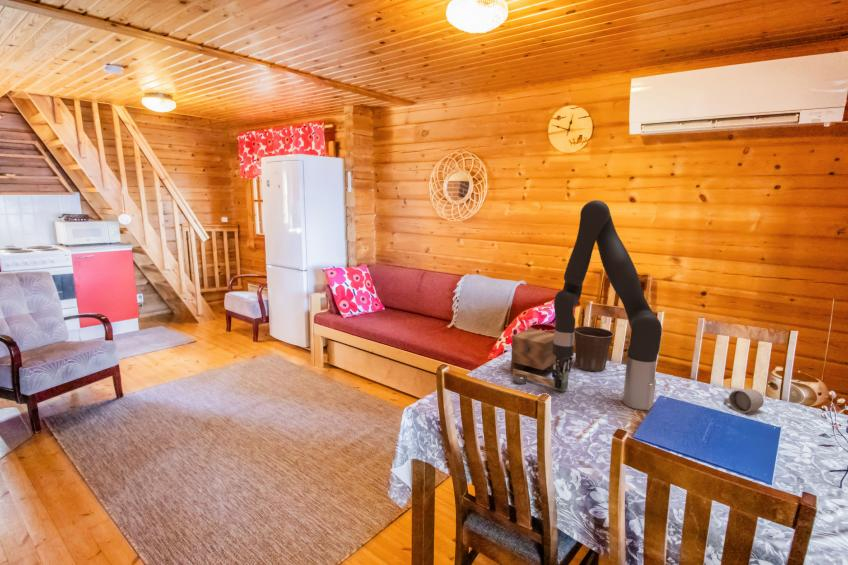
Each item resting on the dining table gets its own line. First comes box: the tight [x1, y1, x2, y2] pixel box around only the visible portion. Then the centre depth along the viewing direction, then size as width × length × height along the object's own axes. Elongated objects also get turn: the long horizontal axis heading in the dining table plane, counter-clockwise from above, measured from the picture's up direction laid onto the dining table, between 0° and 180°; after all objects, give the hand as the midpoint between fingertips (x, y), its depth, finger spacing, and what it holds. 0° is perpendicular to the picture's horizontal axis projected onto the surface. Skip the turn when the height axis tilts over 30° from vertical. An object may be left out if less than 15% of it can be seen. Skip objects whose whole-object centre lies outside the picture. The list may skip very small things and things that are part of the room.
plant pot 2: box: [528, 323, 555, 333], centre depth 214 cm, size 13×13×12 cm
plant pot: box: [575, 325, 615, 373], centre depth 193 cm, size 16×16×16 cm
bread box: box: [510, 328, 556, 375], centre depth 185 cm, size 15×16×16 cm
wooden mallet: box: [512, 369, 570, 393], centre depth 173 cm, size 22×4×7 cm, turn 49°
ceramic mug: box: [723, 388, 765, 414], centre depth 156 cm, size 11×8×8 cm
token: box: [512, 374, 527, 386], centre depth 176 cm, size 5×5×2 cm
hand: (560, 385), depth 168 cm, fingers closed on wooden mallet, 4 cm apart
